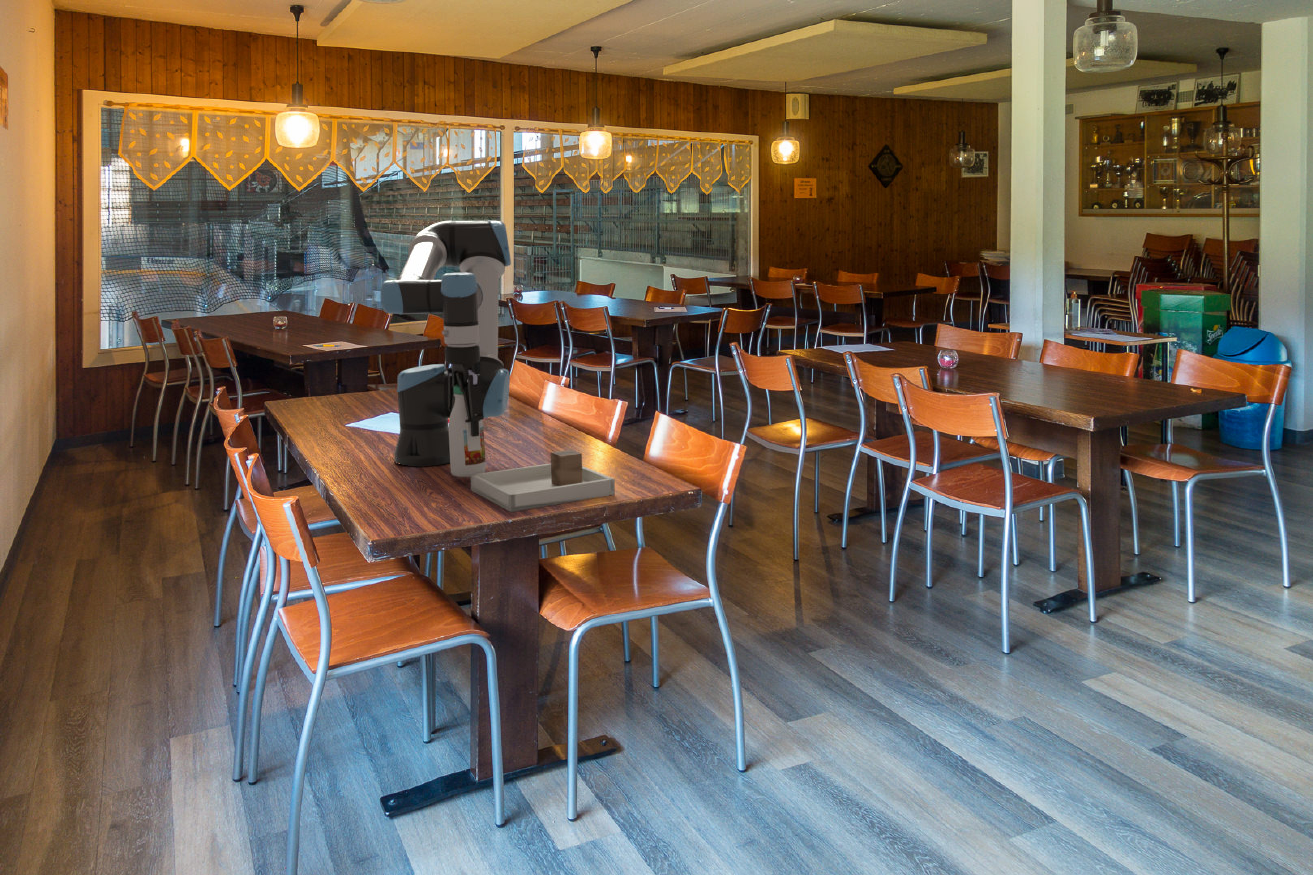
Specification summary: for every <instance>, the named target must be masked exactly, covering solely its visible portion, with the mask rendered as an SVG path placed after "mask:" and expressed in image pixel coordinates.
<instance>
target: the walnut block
mask: <svg viewBox="0 0 1313 875" xmlns="http://www.w3.org/2000/svg"><path fill="white" fill-rule="evenodd" d="M550 463H551V481H552V484H554V485H556V486H564V485H570V484H577V483H583V482H582V466H583V453H581V452H578V451H577V450H574V449H573V450H572V449H565V450H557V451H551V452H550Z"/></svg>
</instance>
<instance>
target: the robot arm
mask: <svg viewBox="0 0 1313 875" xmlns="http://www.w3.org/2000/svg"><path fill="white" fill-rule="evenodd" d="M407 253H408V258H407V260H406V262H405V264H404V266H403V267H402V268H403V269H402V270H401V273H400V274H399V276H398V279H390V280H384V281H383V282H382V285H381V289H380V300H381V306H382V309H383V311H384V312H385V313H386V314H388V315H389V314H392V315H394V314H395V315H400V316H401V315H415V314H416V315H420V314H421V315H423V314H425V315H427V314H442V316H443V318H442V320H443V330H442V331H441V334H442V336H443V338H444V344H446V346H445V347H444V359H445V360H444V361H445V362H446V364H449V365H452V367H446V365H445V364H443V363H438V364H435V363H434V364H428V365H427V364H426V365H421V366H415V367H412V368H407V369H405V370H402V371H400V373H398V374H397V389H396V393H397V401H398V404H397V405H398V416H399V434H398V438H397V443H396V446H395V450H394V453H393V454H394V458H393V459H394V463H395V462H397V463H400V464H402V465H401V466H404V465H408V466H407V467H432V466H440V465H445V464H450V448H449V418H450V415H451V412H452V410H453V407H454V403H455V396H454V386H456V385H458V386H459V387H460V391H461V392H462V393H463V396H464V401H465V406H466V411H467V417H468V419H467V420H465V422H466V425H467V445H468V451H475V450H481V446H480V425H479V421H480V420H484V419H487V418H493V417H500V416H502V415H503V414H504V413H505V412H506V410H507V407H508V402H509V394H510V380H511V379H510V378H511V377H510V376H511V375H510V371H509V370H508V369H506V368H504V367H505V366H504V362H503V361H502V360H500V358H499V357H498V355H499V299H500V298H499V292H500V290H499V288H500V282H499V281H500V277H502V276H503V275H504V274H505V271H506V268H507V267H509V266H511V265H512V259H511V254H510V246H509V240H508V233H507V227H506V224H505V223H504V222H502V221H501V220H490V219H486V220H443V221H439V222H436V223H433V224H431V225H429V226H427V227H425V228H423V229H422V230H421V231H419V232H418V233H417V234H416V235H415V236H414V237H413V238H412V239H411V242H410V243H409V246H408V252H407ZM442 267H458V268H459V271H460V272H448V273H444V274H442V276H441V278H440V279H435V277H436V275H437V272H438V270H439V269H441V268H442ZM475 414H476V415H475ZM397 463H396V464H397Z"/></svg>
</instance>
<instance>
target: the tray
mask: <svg viewBox="0 0 1313 875" xmlns="http://www.w3.org/2000/svg"><path fill="white" fill-rule="evenodd" d="M615 481H616V480H615V478H613V477H611V476H608V475H605V474H603V473H601V472H598V471H596V470H593V469H592V468H591V469H590V468H588V467H586V466H583V465H582V482H583V483H577V484H570V485H564V486H556V485H554V484H552V481H551V462H550V463H544V464H537V465H530V466H523V467H516V468H508V469H502V470H493V471H487V472H486V471H485V473H479V474H472V475H471V477H470V490H471V491H472V492H474V493H475V494H477V495H479V496H481V497H483V498H484V499H486V500H488V501H490V502H492V503H494V504H495V505H497V506H499V507H500V508H502V509H504V510H506V511H508V512H509V513H513V512H519V511H526V510H531V509H539V508H544V507H550V505H551V506H555V505H556V506H557V505H563V504H568V503H574V501H575V502H579V501H580V502H581V501H586V500H585V499H587V500H591V499H590V498H593V499H596V498H595V497H599V498H604V496H605V497H609V495H611V496H615V495H616V485H615V484H616V483H615Z"/></svg>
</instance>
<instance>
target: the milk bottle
mask: <svg viewBox="0 0 1313 875" xmlns="http://www.w3.org/2000/svg"><path fill="white" fill-rule="evenodd" d="M454 396H455V403H454V407H453V410H452V412H451V415H450V418H448V427H449V448H450V463H449V464H450V465H449V466H450V473H451V475H452V476H453V477H454V476H455V477H457V478H458V477H459V478H471V475H472V474H479V473H486V450H485V449H486V448H485V430H484V419H482V420H480V421H479V425H480V446H481V450H475V451H468V445H467V425H466V422H465V420H467V419H468V417H467V411H466V406H465V401H464V396H463V393H462V392H461V391H460V387H459V386H458V385H456V386H454ZM475 415H476V414H475Z"/></svg>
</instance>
